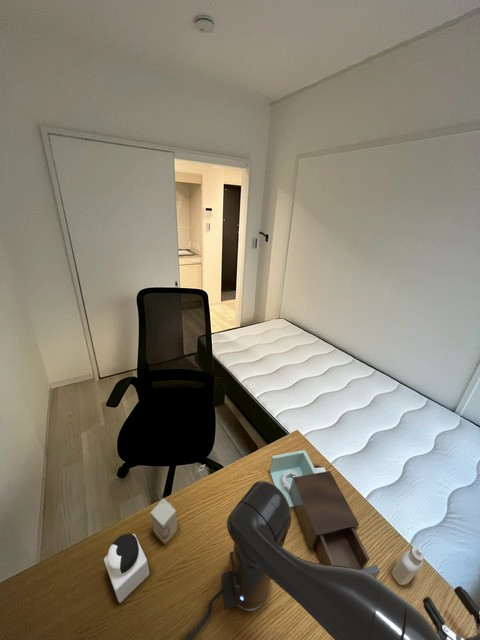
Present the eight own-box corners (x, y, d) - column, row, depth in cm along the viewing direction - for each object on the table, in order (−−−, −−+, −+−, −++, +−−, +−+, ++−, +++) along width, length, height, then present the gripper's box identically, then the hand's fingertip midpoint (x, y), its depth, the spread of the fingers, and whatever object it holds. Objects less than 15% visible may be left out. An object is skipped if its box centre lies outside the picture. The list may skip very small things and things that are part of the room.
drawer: (386, 611, 55) (395, 600, 53) (342, 627, 53) (349, 616, 50) (340, 519, 71) (346, 507, 69) (304, 528, 69) (309, 515, 66)
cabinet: (351, 540, 68) (359, 524, 64) (310, 551, 65) (316, 535, 61) (324, 486, 80) (329, 470, 77) (288, 493, 78) (293, 477, 74)
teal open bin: (269, 470, 84) (272, 456, 81) (301, 464, 87) (304, 449, 84) (283, 508, 73) (287, 494, 70) (318, 500, 76) (323, 485, 73)
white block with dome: (137, 546, 63) (131, 521, 58) (150, 574, 59) (145, 549, 53) (108, 572, 58) (99, 547, 53) (119, 604, 54) (111, 580, 49)
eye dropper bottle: (418, 587, 60) (438, 564, 55) (394, 584, 60) (413, 561, 55) (408, 564, 64) (426, 540, 59) (386, 561, 64) (402, 537, 59)
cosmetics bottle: (152, 532, 66) (149, 511, 62) (165, 517, 69) (163, 496, 65) (165, 546, 63) (162, 526, 59) (178, 530, 67) (176, 509, 62)
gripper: (584, 717, 38) (474, 576, 52) (518, 755, 35) (421, 594, 49) (554, 726, 41) (458, 591, 55) (491, 762, 38) (407, 609, 52)
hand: (441, 593), depth 52 cm, fingers open, 8 cm apart
